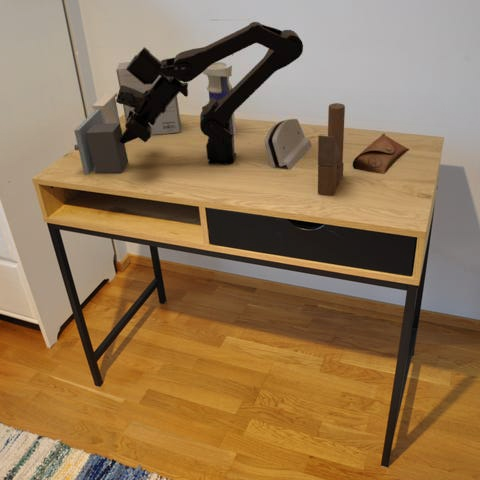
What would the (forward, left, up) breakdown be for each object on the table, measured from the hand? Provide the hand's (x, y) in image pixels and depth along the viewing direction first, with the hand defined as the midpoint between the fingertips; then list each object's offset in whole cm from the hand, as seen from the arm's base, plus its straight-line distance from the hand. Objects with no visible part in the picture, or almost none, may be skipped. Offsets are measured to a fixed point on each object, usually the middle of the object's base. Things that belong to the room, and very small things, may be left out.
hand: (121, 142), depth 142 cm
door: (+10, -4, -7) cm, 13 cm away
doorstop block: (+4, +1, -7) cm, 8 cm away
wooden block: (-53, +9, -7) cm, 54 cm away
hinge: (-42, -8, -7) cm, 43 cm away
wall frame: (+9, -17, -7) cm, 20 cm away
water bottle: (-22, -24, -7) cm, 33 cm away
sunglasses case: (-66, -6, -8) cm, 66 cm away
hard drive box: (-1, -26, -7) cm, 27 cm away
